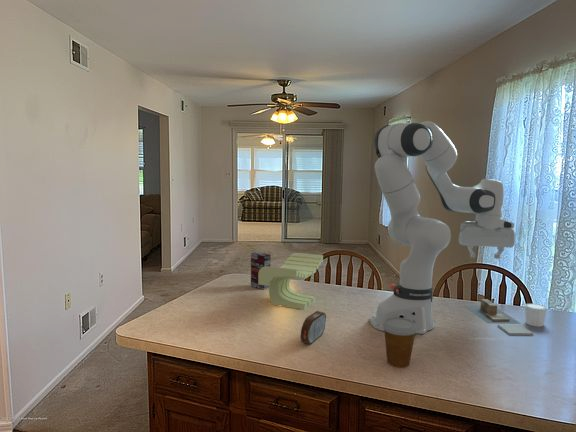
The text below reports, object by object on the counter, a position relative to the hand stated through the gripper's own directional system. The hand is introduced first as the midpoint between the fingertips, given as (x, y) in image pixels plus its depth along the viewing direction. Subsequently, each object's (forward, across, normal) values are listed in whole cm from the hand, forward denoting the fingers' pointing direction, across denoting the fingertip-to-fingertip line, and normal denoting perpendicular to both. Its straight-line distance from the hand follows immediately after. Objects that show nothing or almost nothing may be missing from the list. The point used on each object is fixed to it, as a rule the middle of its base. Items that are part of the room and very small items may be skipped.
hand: (484, 257), depth 166 cm
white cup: (+22, +15, -11) cm, 29 cm away
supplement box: (+25, -86, +35) cm, 96 cm away
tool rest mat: (+22, +4, -2) cm, 22 cm away
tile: (+22, +4, -19) cm, 29 cm away
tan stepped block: (+21, +4, -3) cm, 22 cm away
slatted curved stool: (+25, -72, +13) cm, 77 cm away
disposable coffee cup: (+25, -43, -43) cm, 65 cm away
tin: (+25, -66, -26) cm, 75 cm away
